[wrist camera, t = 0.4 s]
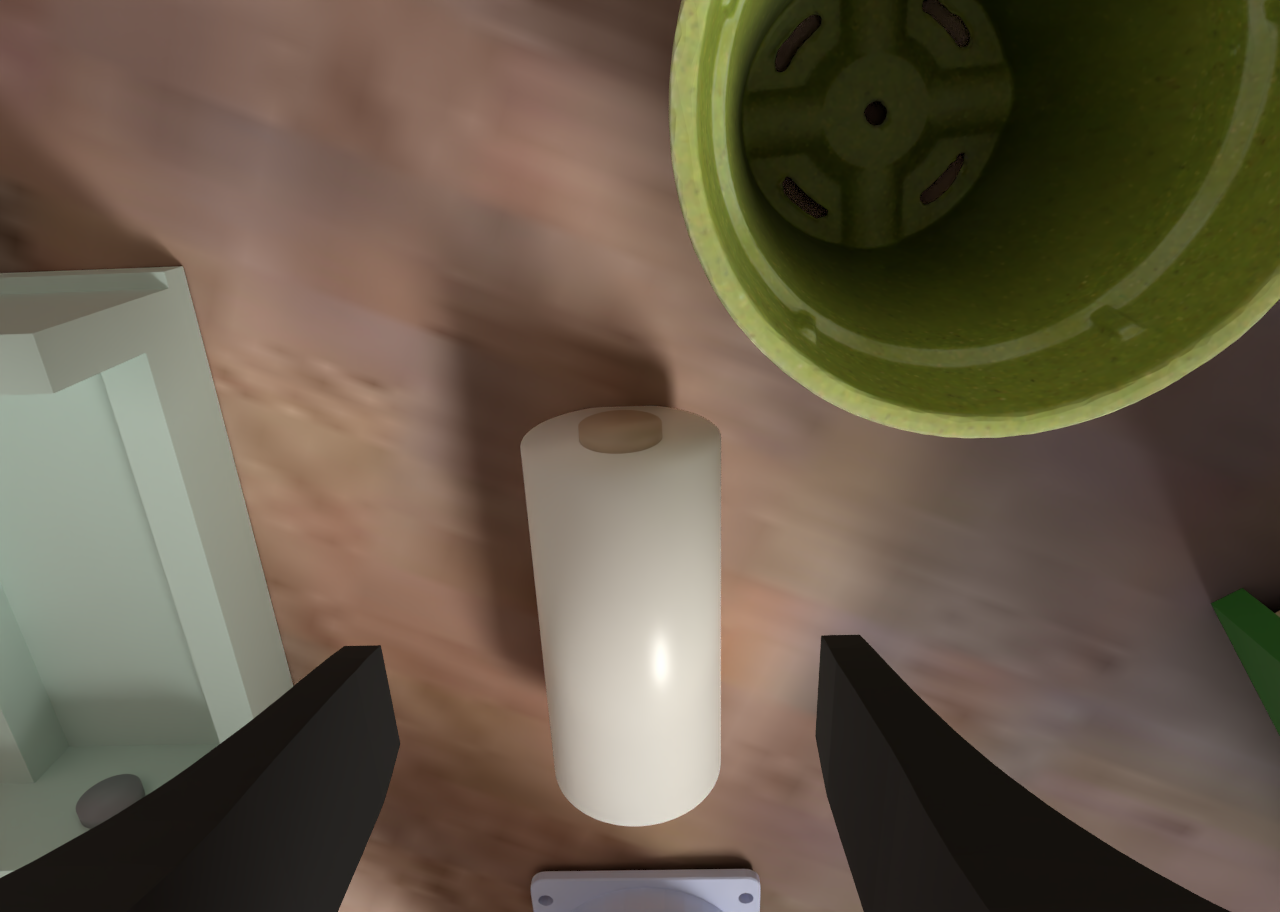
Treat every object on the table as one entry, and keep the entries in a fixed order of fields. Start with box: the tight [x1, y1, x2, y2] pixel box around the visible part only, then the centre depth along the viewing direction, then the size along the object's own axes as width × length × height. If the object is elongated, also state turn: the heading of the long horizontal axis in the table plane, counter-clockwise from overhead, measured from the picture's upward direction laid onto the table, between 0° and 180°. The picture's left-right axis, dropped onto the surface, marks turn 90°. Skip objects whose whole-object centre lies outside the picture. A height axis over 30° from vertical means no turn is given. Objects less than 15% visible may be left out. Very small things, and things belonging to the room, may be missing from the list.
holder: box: [0, 266, 293, 878], centre depth 20 cm, size 16×8×5 cm, turn 2°
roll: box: [520, 406, 721, 826], centre depth 21 cm, size 11×5×5 cm, turn 2°
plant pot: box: [669, 0, 1280, 438], centre depth 14 cm, size 9×9×9 cm
